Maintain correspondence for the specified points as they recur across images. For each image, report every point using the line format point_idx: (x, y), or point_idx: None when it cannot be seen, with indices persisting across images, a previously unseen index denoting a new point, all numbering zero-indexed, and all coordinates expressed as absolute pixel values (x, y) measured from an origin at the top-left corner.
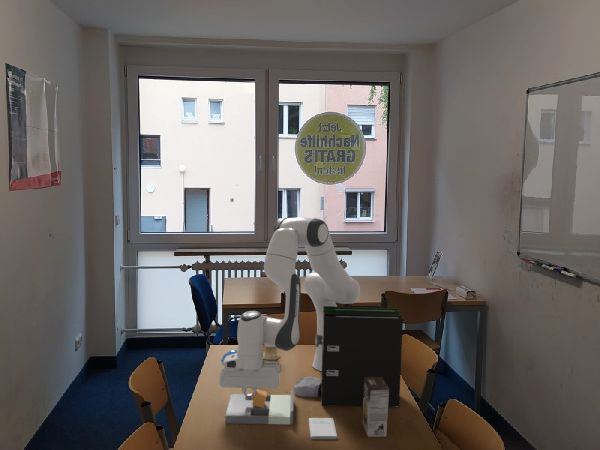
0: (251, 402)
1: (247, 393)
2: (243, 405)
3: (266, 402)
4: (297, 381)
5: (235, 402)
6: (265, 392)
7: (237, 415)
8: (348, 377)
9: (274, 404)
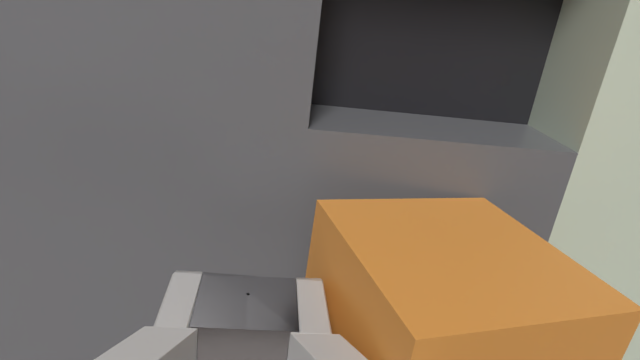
0: (287, 175)
1: (194, 343)
2: (166, 264)
3: (515, 187)
4: None
5: (15, 160)
6: (598, 351)
7: None
8: None
9: (607, 249)
